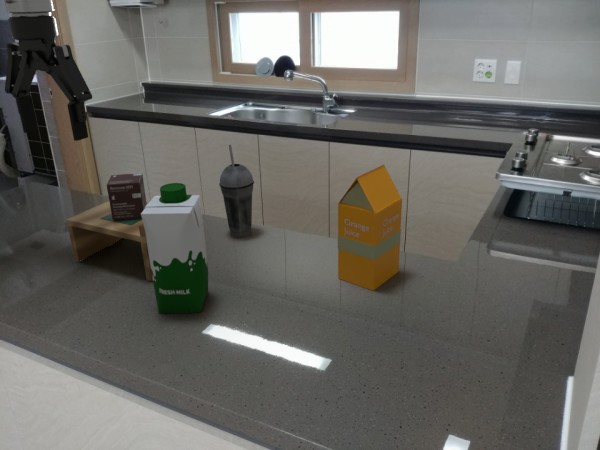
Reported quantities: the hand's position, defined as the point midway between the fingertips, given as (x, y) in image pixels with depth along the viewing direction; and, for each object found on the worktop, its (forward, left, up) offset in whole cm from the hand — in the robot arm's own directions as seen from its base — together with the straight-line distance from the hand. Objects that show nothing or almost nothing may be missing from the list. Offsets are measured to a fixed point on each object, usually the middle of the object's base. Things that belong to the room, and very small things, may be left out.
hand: (55, 135), depth 102 cm
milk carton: (+33, -7, -25) cm, 42 cm away
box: (+13, +3, -16) cm, 20 cm away
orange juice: (+58, +15, -25) cm, 65 cm away
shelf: (+13, +3, -24) cm, 28 cm away
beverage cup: (+26, +21, -25) cm, 41 cm away
